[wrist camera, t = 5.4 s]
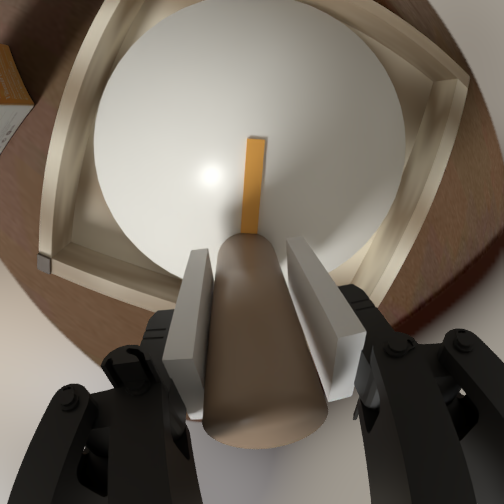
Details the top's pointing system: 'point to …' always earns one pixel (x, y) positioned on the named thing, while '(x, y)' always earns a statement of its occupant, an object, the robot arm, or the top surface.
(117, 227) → the dial housing
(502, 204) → the top surface
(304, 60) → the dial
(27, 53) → the top surface
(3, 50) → the small box
